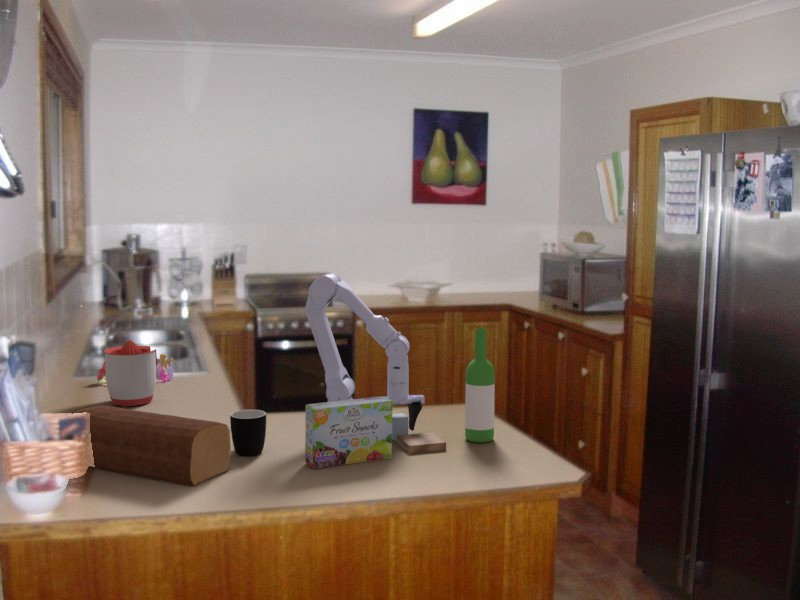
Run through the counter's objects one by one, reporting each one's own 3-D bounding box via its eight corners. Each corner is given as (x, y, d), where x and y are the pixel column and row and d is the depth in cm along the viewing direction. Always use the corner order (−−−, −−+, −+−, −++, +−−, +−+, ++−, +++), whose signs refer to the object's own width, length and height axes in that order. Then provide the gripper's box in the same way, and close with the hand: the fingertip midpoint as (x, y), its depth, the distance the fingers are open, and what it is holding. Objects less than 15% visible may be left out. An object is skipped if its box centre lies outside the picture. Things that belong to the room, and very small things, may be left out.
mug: (274, 452, 218) (273, 413, 217) (244, 460, 212) (243, 420, 211) (246, 443, 227) (246, 405, 226) (217, 450, 221) (216, 411, 219)
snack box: (313, 470, 205) (312, 408, 203) (305, 464, 210) (304, 403, 208) (393, 458, 214) (393, 399, 212) (383, 452, 219) (383, 394, 217)
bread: (191, 489, 192) (189, 431, 190) (64, 465, 209) (61, 411, 207) (233, 470, 205) (232, 415, 204) (111, 448, 222) (109, 398, 221)
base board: (409, 453, 218) (409, 445, 218) (396, 442, 227) (396, 435, 227) (446, 449, 221) (446, 442, 221) (432, 439, 231) (432, 432, 230)
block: (392, 440, 230) (392, 418, 229) (387, 436, 234) (387, 414, 233) (408, 438, 231) (408, 417, 231) (402, 434, 235) (402, 413, 235)
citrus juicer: (170, 403, 270) (168, 340, 267) (114, 411, 260) (111, 346, 258) (154, 394, 282) (152, 333, 280) (100, 401, 273) (97, 338, 270)
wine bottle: (482, 445, 225) (483, 332, 222) (458, 439, 230) (460, 328, 227) (499, 439, 231) (501, 328, 227) (476, 433, 236) (478, 325, 233)
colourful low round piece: (122, 372, 318) (121, 348, 317) (183, 374, 315) (182, 349, 313) (89, 387, 293) (88, 361, 292) (155, 390, 290) (154, 363, 289)
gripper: (376, 386, 225) (376, 437, 226) (428, 382, 229) (428, 432, 231) (368, 381, 231) (369, 430, 233) (419, 377, 236) (419, 425, 238)
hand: (398, 430), depth 232 cm, fingers open, 7 cm apart
